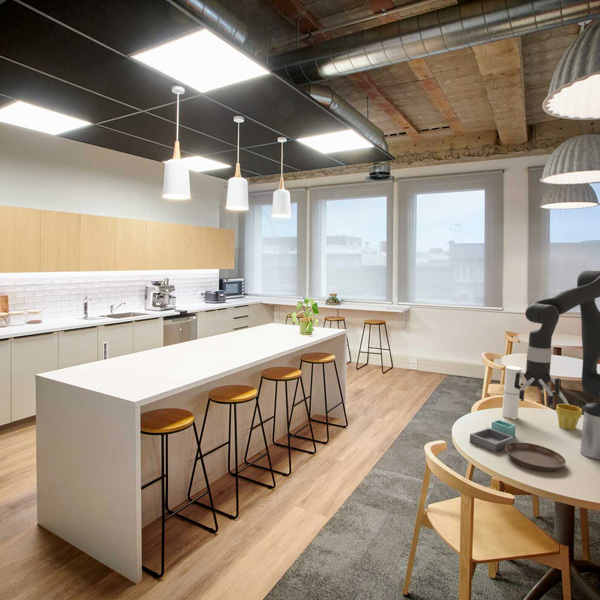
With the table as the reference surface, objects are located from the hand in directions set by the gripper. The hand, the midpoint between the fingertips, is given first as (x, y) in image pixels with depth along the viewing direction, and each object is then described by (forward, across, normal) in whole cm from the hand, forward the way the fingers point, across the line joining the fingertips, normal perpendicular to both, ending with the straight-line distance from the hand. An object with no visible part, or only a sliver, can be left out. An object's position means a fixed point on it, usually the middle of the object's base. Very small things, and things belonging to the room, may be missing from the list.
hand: (535, 402), depth 155 cm
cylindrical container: (+27, +16, -58) cm, 66 cm away
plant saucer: (+26, 0, -10) cm, 28 cm away
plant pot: (+27, -8, -60) cm, 67 cm away
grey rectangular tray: (+26, +17, -16) cm, 35 cm away
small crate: (+26, +15, -31) cm, 43 cm away
